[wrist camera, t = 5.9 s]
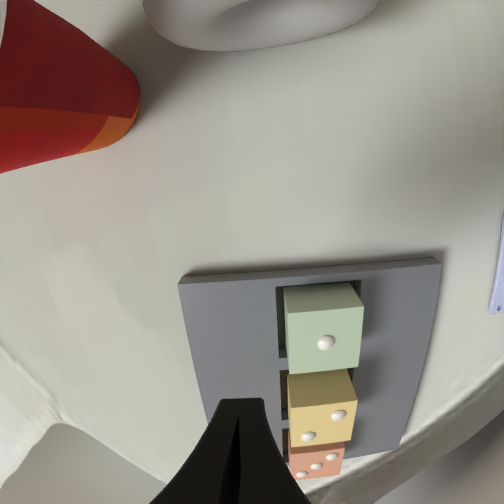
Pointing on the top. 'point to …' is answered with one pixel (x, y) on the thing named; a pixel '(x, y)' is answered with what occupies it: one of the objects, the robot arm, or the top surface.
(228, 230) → the top surface
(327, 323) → the tile one pip
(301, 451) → the tile three pips
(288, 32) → the donut
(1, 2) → the paper cup
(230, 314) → the grey slotted tray
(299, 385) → the tile two pips
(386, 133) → the top surface
